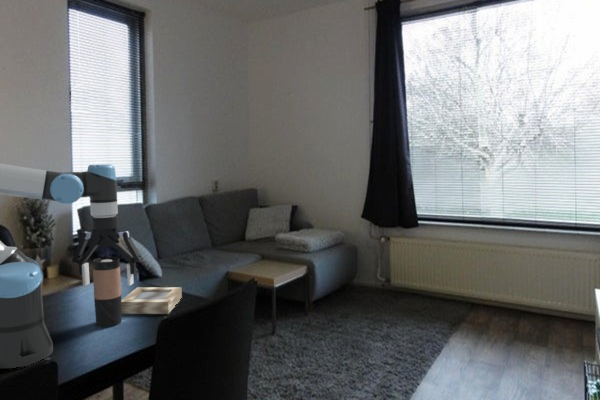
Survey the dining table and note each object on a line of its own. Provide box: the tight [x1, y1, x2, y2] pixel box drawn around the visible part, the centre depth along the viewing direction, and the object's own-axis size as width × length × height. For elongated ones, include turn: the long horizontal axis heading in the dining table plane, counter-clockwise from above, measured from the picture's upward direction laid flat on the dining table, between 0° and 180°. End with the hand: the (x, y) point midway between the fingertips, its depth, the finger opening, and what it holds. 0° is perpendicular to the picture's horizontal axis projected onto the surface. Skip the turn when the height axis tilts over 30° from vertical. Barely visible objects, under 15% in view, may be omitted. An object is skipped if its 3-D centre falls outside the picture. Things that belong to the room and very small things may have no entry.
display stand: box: [121, 286, 183, 315], centre depth 152 cm, size 16×16×4 cm
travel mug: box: [92, 256, 122, 328], centre depth 135 cm, size 8×8×20 cm
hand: (108, 284), depth 135 cm, fingers open, 13 cm apart
